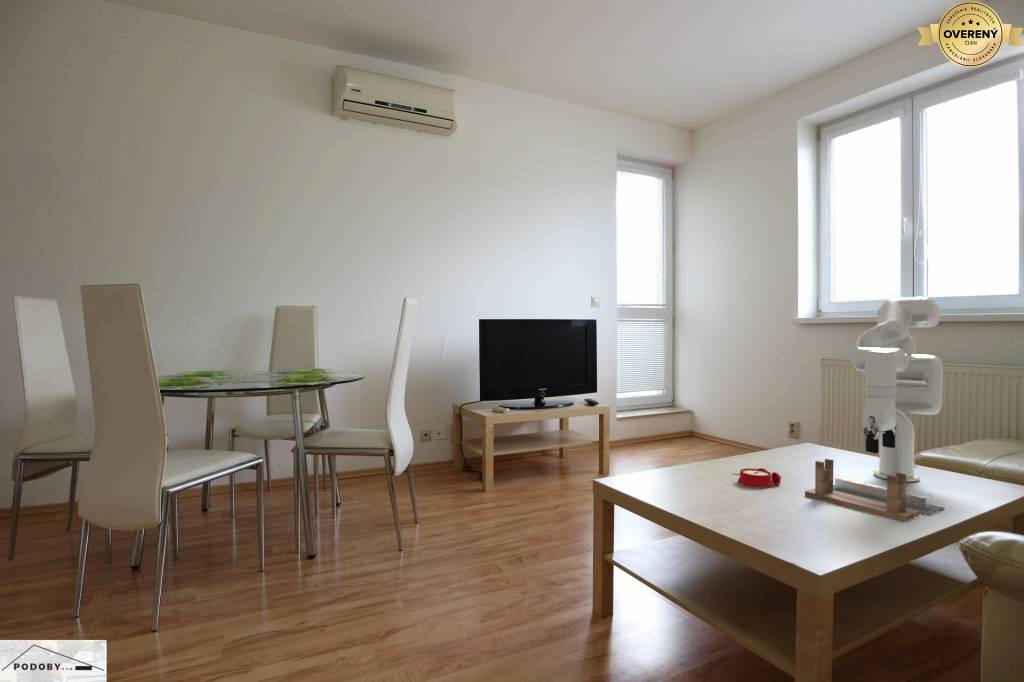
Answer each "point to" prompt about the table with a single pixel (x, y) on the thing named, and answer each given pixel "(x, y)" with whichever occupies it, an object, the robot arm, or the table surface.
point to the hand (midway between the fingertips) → (880, 449)
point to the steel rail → (880, 492)
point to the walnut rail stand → (891, 509)
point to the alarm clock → (758, 478)
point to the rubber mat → (922, 511)
